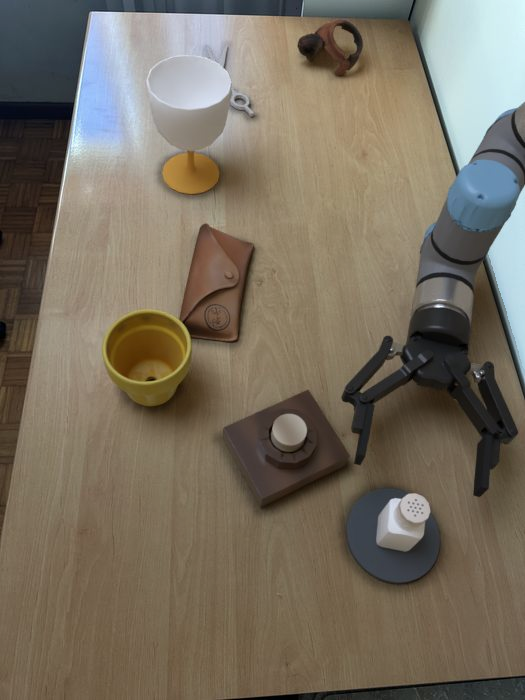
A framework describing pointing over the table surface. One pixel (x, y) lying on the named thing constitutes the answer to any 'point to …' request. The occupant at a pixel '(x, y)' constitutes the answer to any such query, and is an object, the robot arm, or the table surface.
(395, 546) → the pepper shaker
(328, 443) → the button base
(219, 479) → the table surface
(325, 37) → the brown curved piece
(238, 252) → the sunglasses case
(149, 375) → the flower pot
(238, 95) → the scissors
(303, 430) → the cream short cylinder
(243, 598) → the table surface
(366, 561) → the mat
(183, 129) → the cup
